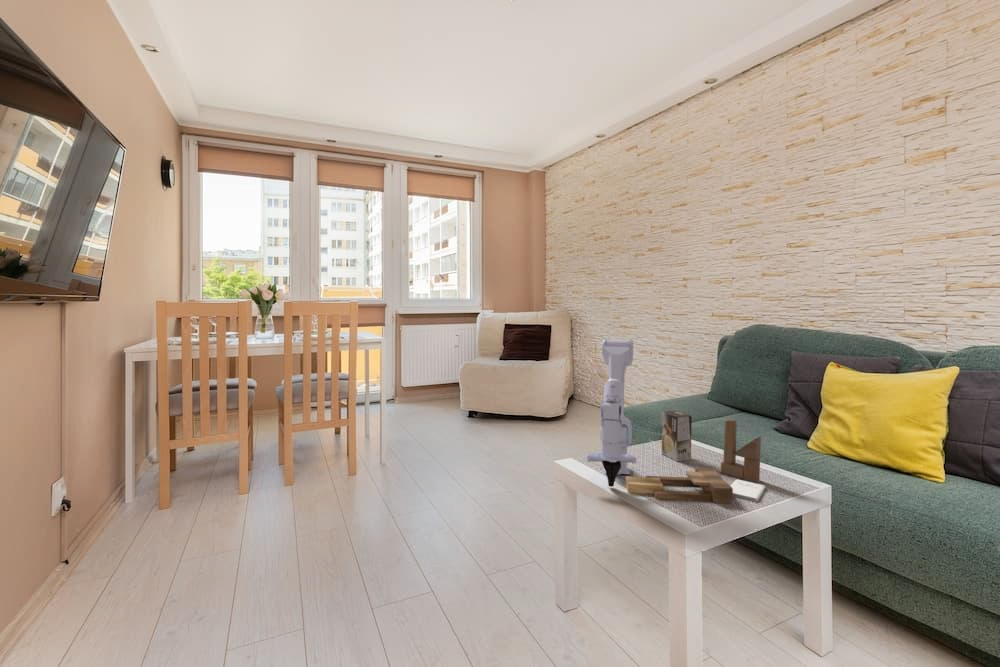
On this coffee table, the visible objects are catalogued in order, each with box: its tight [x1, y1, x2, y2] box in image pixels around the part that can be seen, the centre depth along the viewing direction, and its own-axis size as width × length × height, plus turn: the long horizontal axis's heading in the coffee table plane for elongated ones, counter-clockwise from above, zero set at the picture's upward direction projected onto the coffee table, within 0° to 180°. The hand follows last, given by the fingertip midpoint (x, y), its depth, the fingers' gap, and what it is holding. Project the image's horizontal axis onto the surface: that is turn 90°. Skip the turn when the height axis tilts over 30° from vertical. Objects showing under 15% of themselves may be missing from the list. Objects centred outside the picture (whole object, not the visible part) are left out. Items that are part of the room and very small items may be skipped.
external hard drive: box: [730, 479, 766, 503], centre depth 136 cm, size 2×8×12 cm
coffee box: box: [661, 410, 693, 462], centre depth 167 cm, size 9×6×16 cm
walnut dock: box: [645, 467, 733, 504], centre depth 137 cm, size 16×20×4 cm
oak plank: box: [624, 475, 664, 495], centre depth 138 cm, size 6×10×3 cm, turn 81°
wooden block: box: [720, 418, 762, 483], centre depth 148 cm, size 4×11×18 cm, turn 39°
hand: (610, 485), depth 139 cm, fingers closed
